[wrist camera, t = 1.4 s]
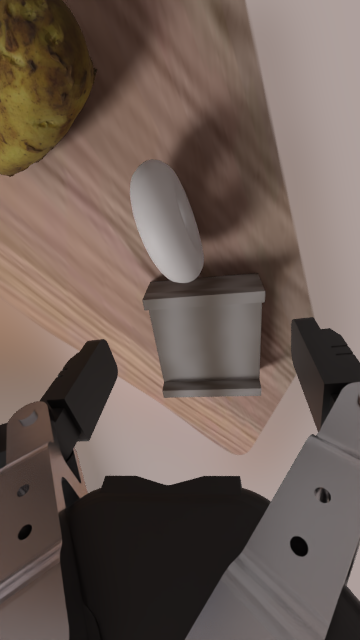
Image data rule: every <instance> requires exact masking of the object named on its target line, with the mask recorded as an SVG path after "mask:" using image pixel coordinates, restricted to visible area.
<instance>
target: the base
mask: <svg viewBox="0 0 360 640" xmlns="http://www.w3.org/2000/svg"><path fill="white" fill-rule="evenodd" d="M142 301H143V305H144V310H149V313H150V318H151V323H152V327H153V332H154V337H155V342H156V346H157V351H158V356H159V360H160V365H161V370H162V374H163V379H164V386H163V395H164V398H170V397H218V396H261V385H260V380H259V374H260V344H261V315H262V302H265V289H264V287H263V284H262V282H261V280H260V277H259V275H258V273H254V274H242V275H230V276H218V277H206V278H196V279H195V280H193V281H191V282H188V283H178V282H173V281H171V280H170V281H157V282H150V284H149V286H148V289H147V291H146V293H145V295H144V298H143V300H142Z"/></svg>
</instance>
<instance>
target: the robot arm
mask: <svg viewBox="0 0 360 640" xmlns="http://www.w3.org/2000/svg"><path fill="white" fill-rule="evenodd" d="M291 353H292V360H293V365H294V368H295V370H296V373H297V376H298V379H299V381H300V384H301V387H302V389H303V392H304V395H305V397H306V400H307V403H308V405H309V408H310V411H311V414H312V416H313V419H314V422H315V425H316V427H317V430H318V434H317V435H316V436H315V435H313V434H312V435H310V436H309V437H308V439H307V440H306V442H305V444H304V445H303V447H302V449H301V451H300V452H299V454H298V456H297V458H296V459H295V461H294V463H293V464H292V466H291V468H290V470H289V471H288V473H287V475H286V477H285V478H284V480H283V482H282V484H281V485H280V487H279V489H278V491H277V492H276V494H275V496H274V497H273V499H272V501H271V502H270V501H269V500H268V499H266V498H264V497H263V496H261V495H259V494H257V493H255V492H253V491H250V490H247V489H244V488H242V486H241V480H240V476H203V477H199V478H196V479H192V480H188V481H184V482H180V483H177V484H173V485H163V484H160V483H157V482H153V481H151V480H147V479H144V478H141V477H138V476H105V479H104V482H103V485H102V488H99V489H97V490H94V491H92V492H90V493H88V491H87V489H86V485H85V481H84V477H83V473H82V469H81V466H80V462H79V458H78V454H77V451H76V449H75V448H74V446H75V444H76V442H77V441H89V440H90V438H91V435H92V433H93V431H94V429H95V426H96V424H97V422H98V420H99V417H100V415H101V413H102V411H103V408H104V406H105V404H106V402H107V399H108V397H109V395H110V393H111V390H112V388H113V386H114V384H115V381H116V379H117V375H118V369H117V365H116V362H115V360H114V357H113V355H112V353H111V350H110V348H109V345H108V343H107V341H106V340H104V339H101V340H92V341H87V342H86V343H85V345H84V346H83V348H82V349H81V351H80V352H79V353H77V354H76V355H75V356H74V357H72V358H71V359H70V360H69V361H68V362H67V363H66V365H65V366H64V368H63V370H62V371H61V372H60V373H59V375H58V377H57V378H56V379H55V380H54V381H53V383H52V384H51V386H50V387H49V389H48V390H47V391H46V393H45V394H44V395H43V397H42V398H41V400H40V401H38V402H33V403H30V404H28V405H26V406H24V407H22V408H21V409H19V410H18V411H17V412H16V413H15V414H14V415H13V416H12V417H11V418H10V420H9V421H8V423H5V424H2V425H0V640H360V601H359V600H358V599H357V598H356V596H354V594H353V593H352V592H351V590H350V589H349V588H348V587H347V582H348V579H349V577H350V573H351V570H352V567H353V564H354V561H355V558H356V555H357V552H358V549H359V546H360V362H359V361H358V359H357V358H356V356H355V355H353V352H352V351H351V350H350V348H349V347H348V346H347V343H346V342H345V341H344V339H343V338H342V336H341V335H339V334H338V333H336V332H335V331H333V330H331V329H330V328H329V329H320V328H319V326H318V324H317V323H316V321H315V319H314V318H313V317H310V318H301V319H293V320H292V324H291Z"/></svg>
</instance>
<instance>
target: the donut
mask: <svg viewBox="0 0 360 640" xmlns="http://www.w3.org/2000/svg"><path fill="white" fill-rule="evenodd" d="M130 198H131V205H132V211H133V215H134V218H135V222H136V225H137V229H138V231H139V234H140V236H141V239H142V241H143V244H144V246H145V248H146V250H147V252H148V254H149V255H150V257H151V259H152V261H153V262H154V263H155V265H156V266H157V268H158V269H159V270H160V272H161V273H162V274H163V275H164V276H166V277H167V278H168V279H169V280H171V281H173V282H178V283H188V282H191V281H193V280H195V279H196V278H197V277H198V276H199V274H200V272H201V270H202V268H203V263H204V254H203V248H202V243H201V239H200V235H199V231H198V227H197V224H196V221H195V218H194V215H193V212H192V209H191V206H190V203H189V201H188V198H187V196H186V194H185V191H184V189H183V187H182V184H181V182H180V180H179V178H178V176H177V175H176V173H175V172H174V170H173V169H172V168H171V167H170V166H169V165H167V164H166V163H164V162H162V161H160V160H153V159H151V160H148V161H145V162H143V163H142V164H141V165H140V166H139V167H138V168H137V170H136V171H135V172H134V174H133V175H132V179H131V184H130Z"/></svg>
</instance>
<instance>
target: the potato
mask: <svg viewBox="0 0 360 640" xmlns="http://www.w3.org/2000/svg"><path fill="white" fill-rule="evenodd" d="M96 72H97V69H96V68H93V62H92V60H91V58H90V56H89V53H88V49H87V45H86V42H85V39H84V36H83V34H82V32H81V29H80V27H79V25H78V23H77V21H76V19H75V17H74V16H73V14H72V12H71V11H70V9H69V8H68V7H67V6H66V4H65V3H64V2H63V1H62V0H0V174H1V175H7V176H9V177H11V176H13V175H14V174H16V173H19V172H21V171H24V170H25V169H27V168H28V167H29V166H30V165H31V164H33V163H35V162H39V161H40V160H41V159H43V157H44V156H45V155H46V154H47V153H48V152H49V151H50V150H52V149H53V148H54V146H55V145H56V144H57V143H58V142H59V141H60V140H61V139H62V138H63V137H64V136H65V134H66V133H67V132H68V130H69V129H70V127H71V125H72V124H73V122H74V120H75V118H76V117H77V115H78V114H79V113H80V111H81V110H82V108H83V106H84V104H85V102H86V100H87V98H88V96H89V94H90V91H91V89H92V84H94V80H95V76H96Z"/></svg>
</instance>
